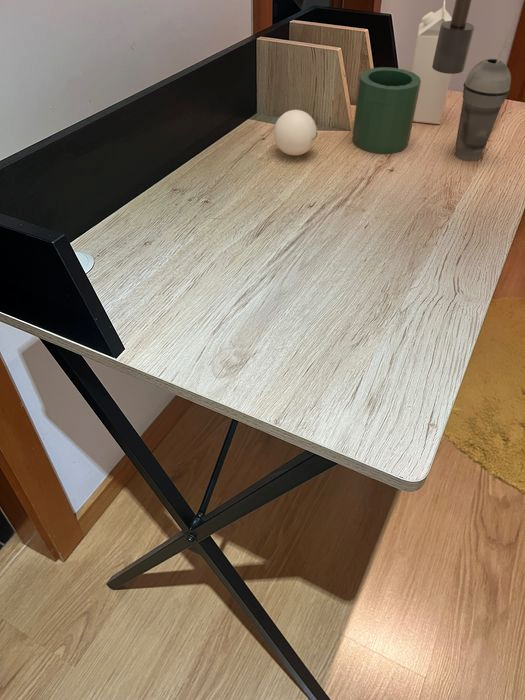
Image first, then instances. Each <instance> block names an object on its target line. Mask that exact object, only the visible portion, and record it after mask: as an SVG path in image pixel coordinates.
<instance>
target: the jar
mask: <svg viewBox="0 0 525 700" xmlns="http://www.w3.org/2000/svg"><path fill="white" fill-rule="evenodd" d="M420 84H421V80H420V77H419V76H417V75H416V74H414V73H413V72H411V70H406V69H403V68H397V67H388V66H387V67H385V66H379V67H372V68H369V69H366V70H363V71H362V72H361V73H360V74H359V79H358V87H357V96H356V104H355V112H354V117H353V119H354V120H353V127H352V139H351V141H352V143H353V145H354V146H356V147H357V148H358V149H360V150H363V151H364V152H368V153H374V154H378V155H379V154H380V155H384V154H385V155H388V154H396V153H399V152H402V151H404V150H405V149H407V147H408V145H409V141H410V137H411V135H412V134H411V133H412V129H413V124H414V121H413V119H414V114H415V109H416V104H417V99H418V94H419V89H420Z"/></svg>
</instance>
